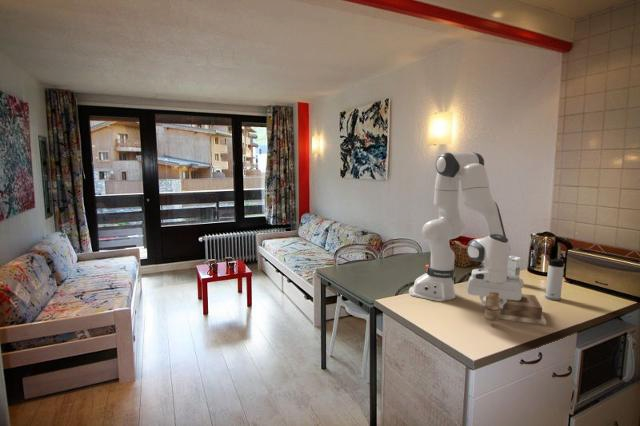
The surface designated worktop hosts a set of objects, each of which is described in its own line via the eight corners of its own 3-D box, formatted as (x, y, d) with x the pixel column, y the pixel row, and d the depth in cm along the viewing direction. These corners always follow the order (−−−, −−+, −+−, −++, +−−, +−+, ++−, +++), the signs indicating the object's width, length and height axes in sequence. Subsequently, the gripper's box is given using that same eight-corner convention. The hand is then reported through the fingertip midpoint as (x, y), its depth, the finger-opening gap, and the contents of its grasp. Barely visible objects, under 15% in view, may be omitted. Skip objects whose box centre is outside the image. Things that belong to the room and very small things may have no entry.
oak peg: (484, 320, 150) (487, 292, 148) (483, 315, 155) (486, 288, 153) (498, 322, 149) (501, 294, 147) (497, 317, 153) (499, 289, 151)
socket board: (497, 318, 157) (498, 304, 156) (493, 302, 174) (494, 289, 173) (545, 324, 151) (547, 310, 150) (536, 308, 168) (538, 294, 167)
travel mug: (554, 301, 176) (558, 261, 173) (542, 296, 182) (546, 257, 179) (564, 300, 177) (568, 260, 174) (552, 295, 184) (556, 256, 181)
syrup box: (508, 280, 206) (510, 255, 204) (519, 283, 201) (521, 257, 199) (503, 282, 202) (505, 257, 200) (514, 285, 198) (516, 259, 195)
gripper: (522, 275, 148) (519, 307, 151) (468, 269, 155) (465, 300, 157) (525, 280, 142) (521, 314, 145) (468, 274, 149) (466, 306, 152)
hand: (492, 306), depth 151 cm, fingers closed on oak peg, 5 cm apart
